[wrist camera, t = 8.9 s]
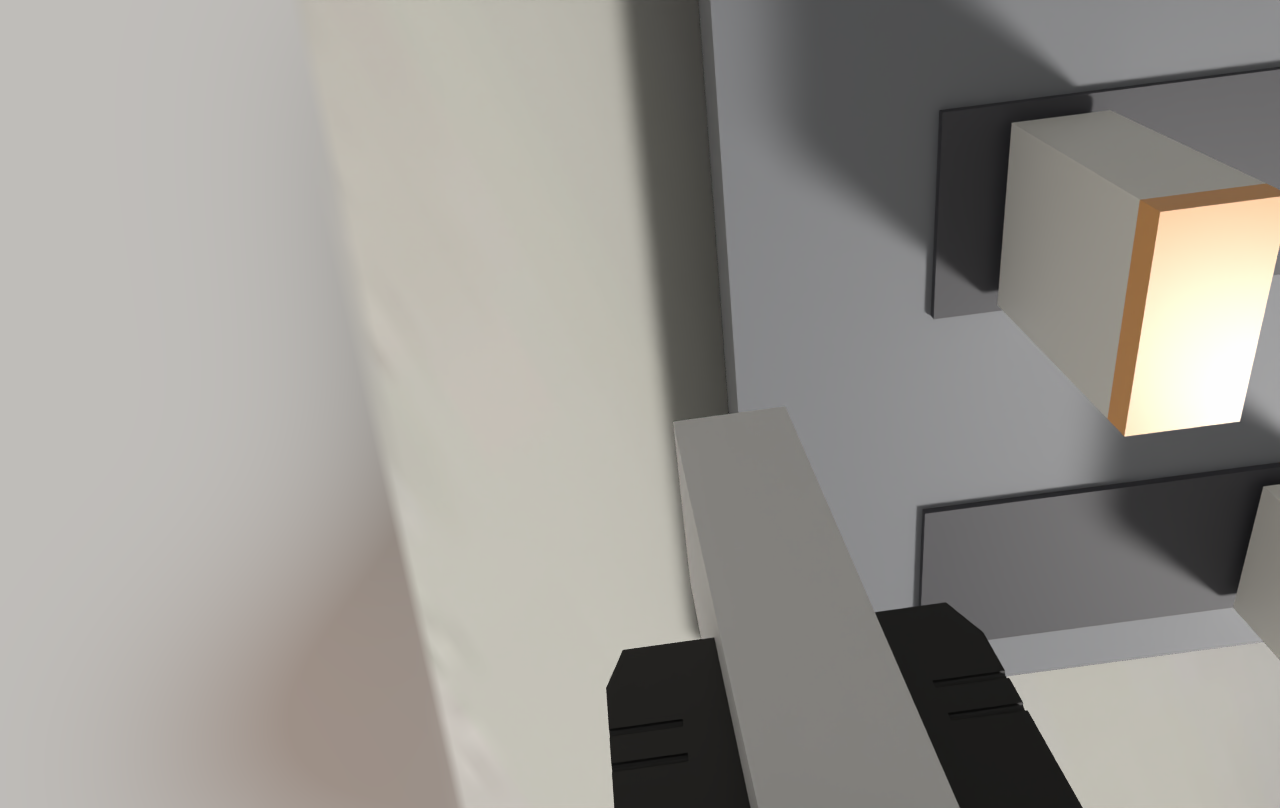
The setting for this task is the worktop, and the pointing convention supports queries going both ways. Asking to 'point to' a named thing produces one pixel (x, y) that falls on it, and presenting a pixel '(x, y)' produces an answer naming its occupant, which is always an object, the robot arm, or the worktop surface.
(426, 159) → the worktop surface
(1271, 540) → the cream rectangular block
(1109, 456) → the breaker panel
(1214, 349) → the handle
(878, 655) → the robot arm
